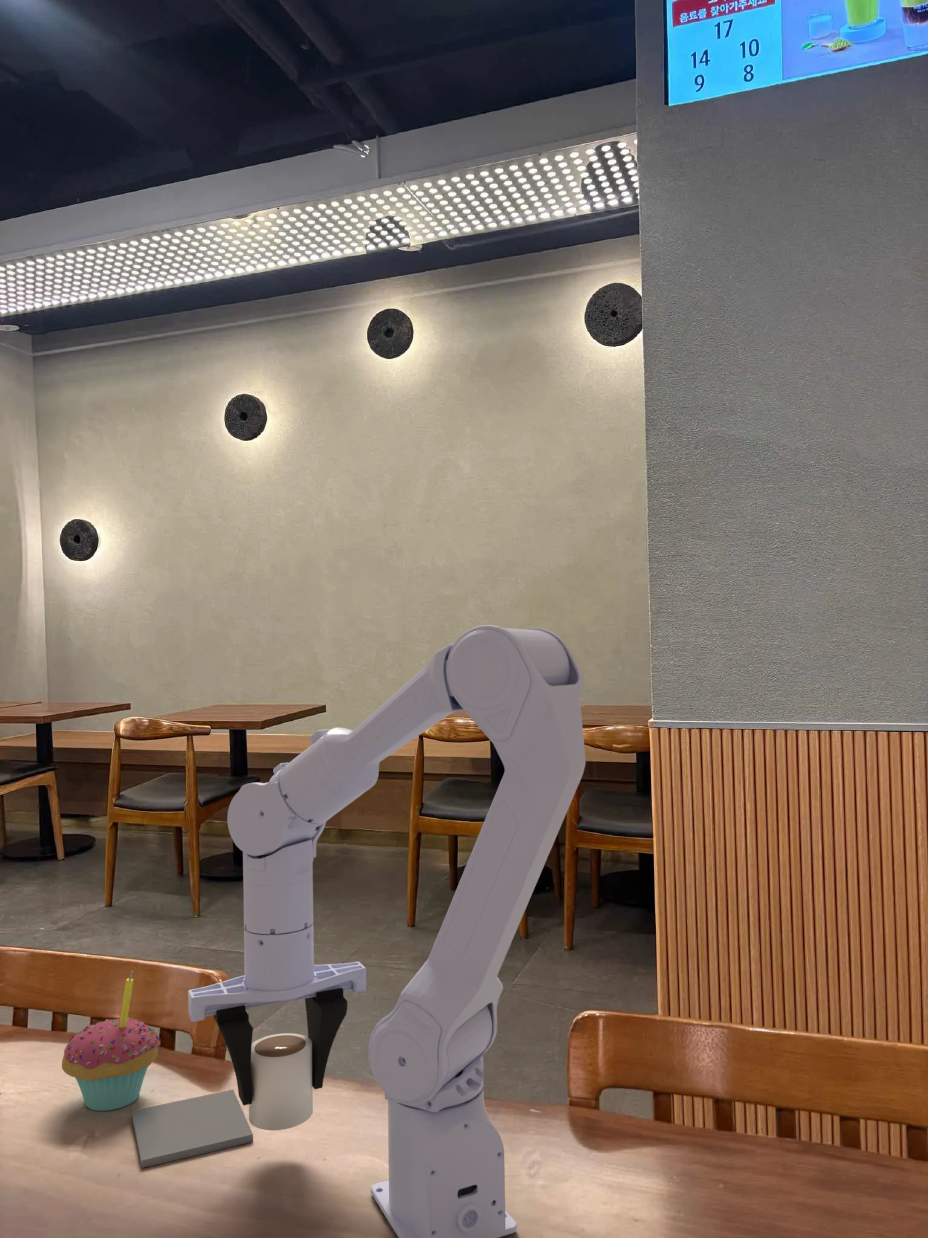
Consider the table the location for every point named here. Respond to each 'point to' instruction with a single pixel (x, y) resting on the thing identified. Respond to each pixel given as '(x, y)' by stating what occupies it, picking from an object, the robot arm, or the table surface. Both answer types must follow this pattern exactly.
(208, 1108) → the coaster
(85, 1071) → the cupcake
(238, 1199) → the table surface
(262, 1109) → the cup
